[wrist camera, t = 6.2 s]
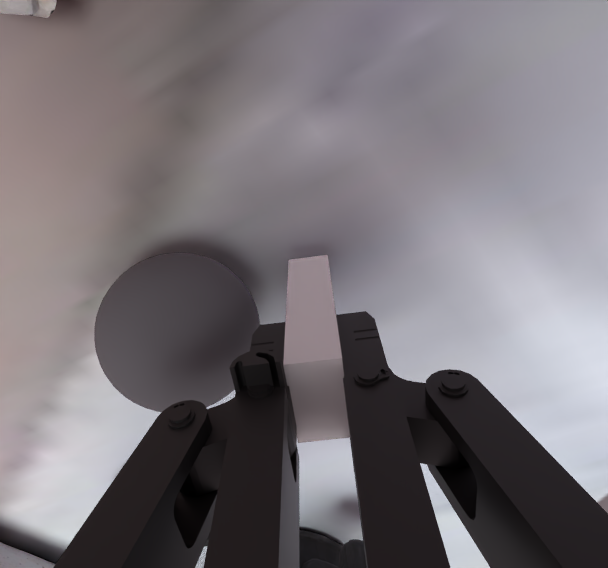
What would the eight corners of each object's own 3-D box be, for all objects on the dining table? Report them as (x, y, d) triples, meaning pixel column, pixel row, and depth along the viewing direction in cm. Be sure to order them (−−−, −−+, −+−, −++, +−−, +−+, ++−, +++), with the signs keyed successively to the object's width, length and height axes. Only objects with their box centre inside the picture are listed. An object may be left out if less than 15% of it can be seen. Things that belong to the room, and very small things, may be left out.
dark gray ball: (100, 343, 12) (40, 284, 16) (179, 479, 15) (112, 400, 19) (268, 242, 15) (181, 214, 19) (306, 373, 18) (224, 324, 22)
